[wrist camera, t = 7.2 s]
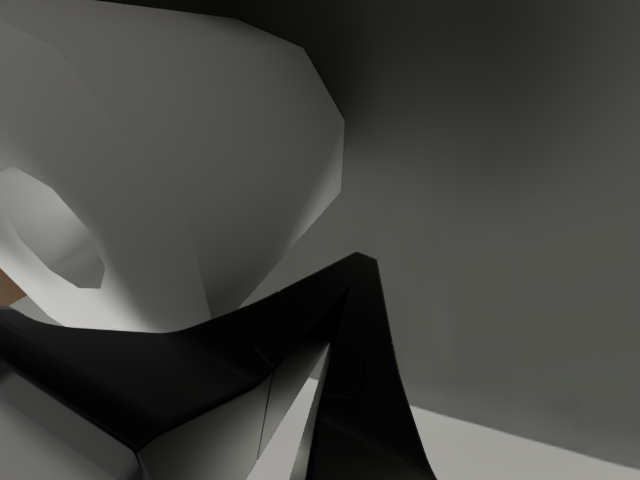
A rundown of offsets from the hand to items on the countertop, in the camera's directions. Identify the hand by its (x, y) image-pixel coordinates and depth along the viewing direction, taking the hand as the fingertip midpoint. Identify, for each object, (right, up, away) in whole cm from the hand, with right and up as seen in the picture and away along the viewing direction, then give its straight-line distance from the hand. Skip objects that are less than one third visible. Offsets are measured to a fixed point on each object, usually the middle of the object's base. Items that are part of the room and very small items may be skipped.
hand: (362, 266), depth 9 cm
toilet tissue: (-5, +4, +6) cm, 9 cm away
